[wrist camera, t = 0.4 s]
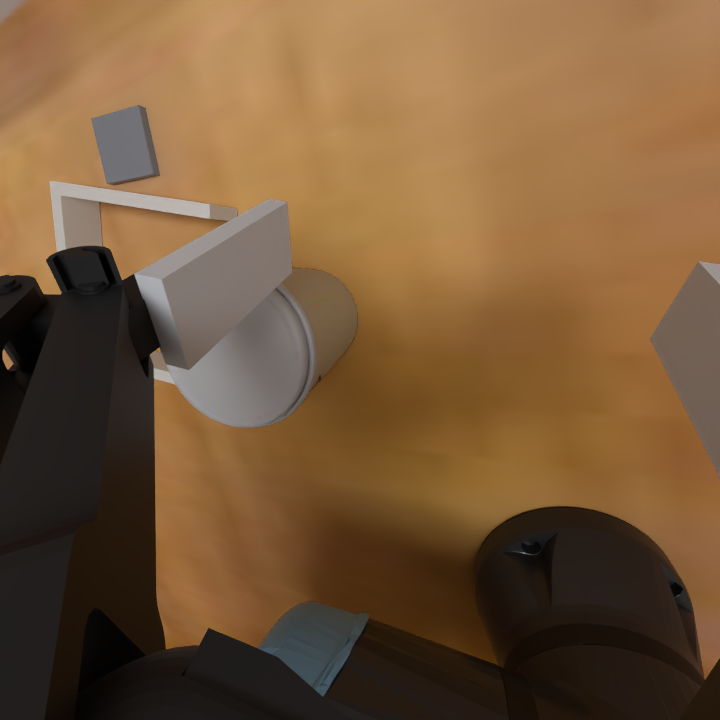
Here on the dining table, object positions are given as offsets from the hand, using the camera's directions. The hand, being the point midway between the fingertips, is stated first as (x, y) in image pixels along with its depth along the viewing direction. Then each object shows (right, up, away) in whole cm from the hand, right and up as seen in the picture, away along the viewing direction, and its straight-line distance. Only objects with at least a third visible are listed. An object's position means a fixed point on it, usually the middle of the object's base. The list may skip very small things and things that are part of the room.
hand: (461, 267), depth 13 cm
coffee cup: (-7, 0, +19) cm, 20 cm away
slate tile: (-23, +15, +20) cm, 33 cm away
